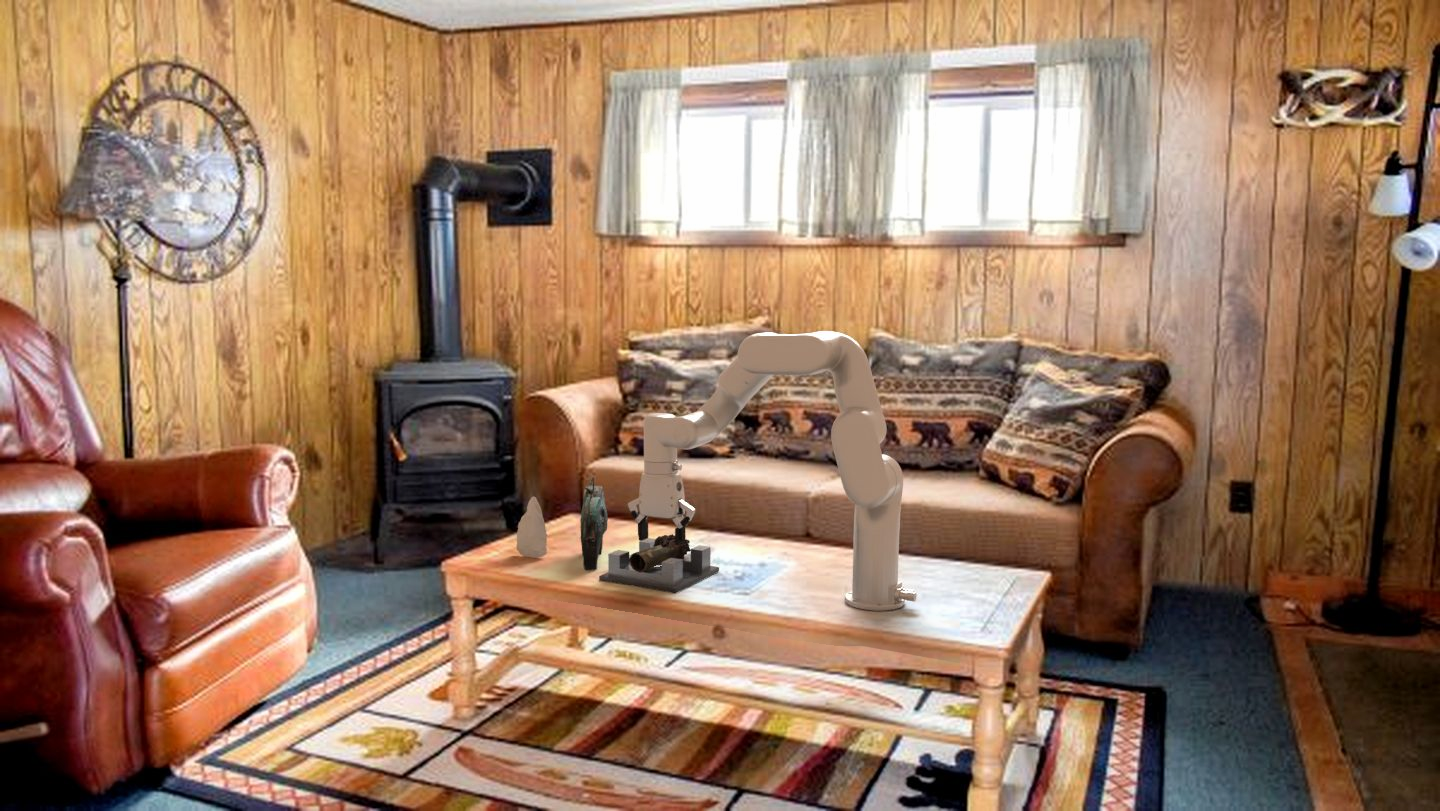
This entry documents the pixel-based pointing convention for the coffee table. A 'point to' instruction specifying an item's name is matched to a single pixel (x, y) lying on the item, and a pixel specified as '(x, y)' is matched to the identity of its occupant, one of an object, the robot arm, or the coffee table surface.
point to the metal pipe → (658, 553)
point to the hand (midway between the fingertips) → (661, 541)
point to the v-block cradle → (660, 570)
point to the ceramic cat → (592, 524)
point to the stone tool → (532, 532)
